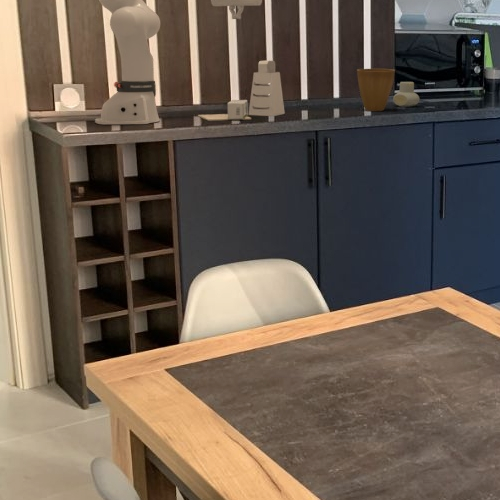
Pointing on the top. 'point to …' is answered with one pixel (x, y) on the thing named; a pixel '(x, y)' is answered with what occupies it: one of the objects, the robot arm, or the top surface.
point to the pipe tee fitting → (406, 95)
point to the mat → (219, 117)
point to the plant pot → (375, 87)
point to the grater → (266, 91)
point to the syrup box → (237, 109)
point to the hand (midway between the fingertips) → (236, 19)
